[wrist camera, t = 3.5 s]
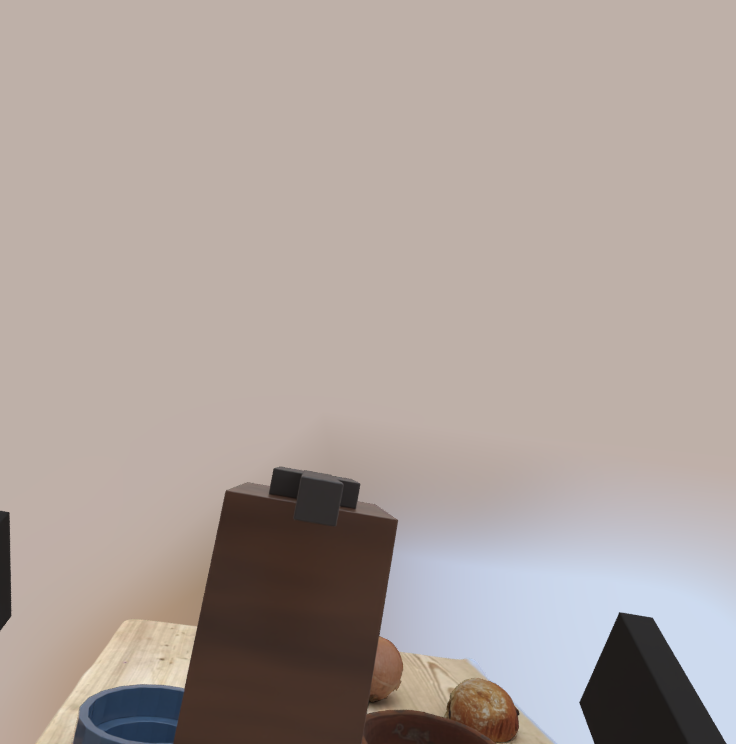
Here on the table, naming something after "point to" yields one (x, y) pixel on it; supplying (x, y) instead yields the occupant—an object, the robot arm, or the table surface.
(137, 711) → the bowl
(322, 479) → the stepped dark block
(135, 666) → the table surface
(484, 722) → the bread roll
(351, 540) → the stand
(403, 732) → the dish
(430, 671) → the table surface
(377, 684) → the onion
